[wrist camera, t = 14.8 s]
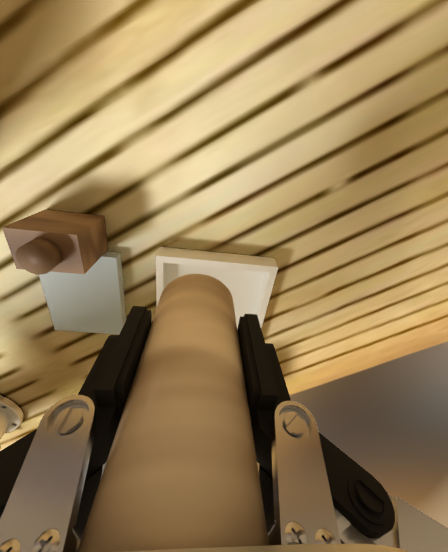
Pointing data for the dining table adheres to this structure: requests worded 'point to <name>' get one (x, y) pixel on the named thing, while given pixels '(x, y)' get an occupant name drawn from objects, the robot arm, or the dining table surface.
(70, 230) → the block
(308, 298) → the dining table surface
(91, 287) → the pale grey flat panel
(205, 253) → the tray
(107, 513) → the dowel
